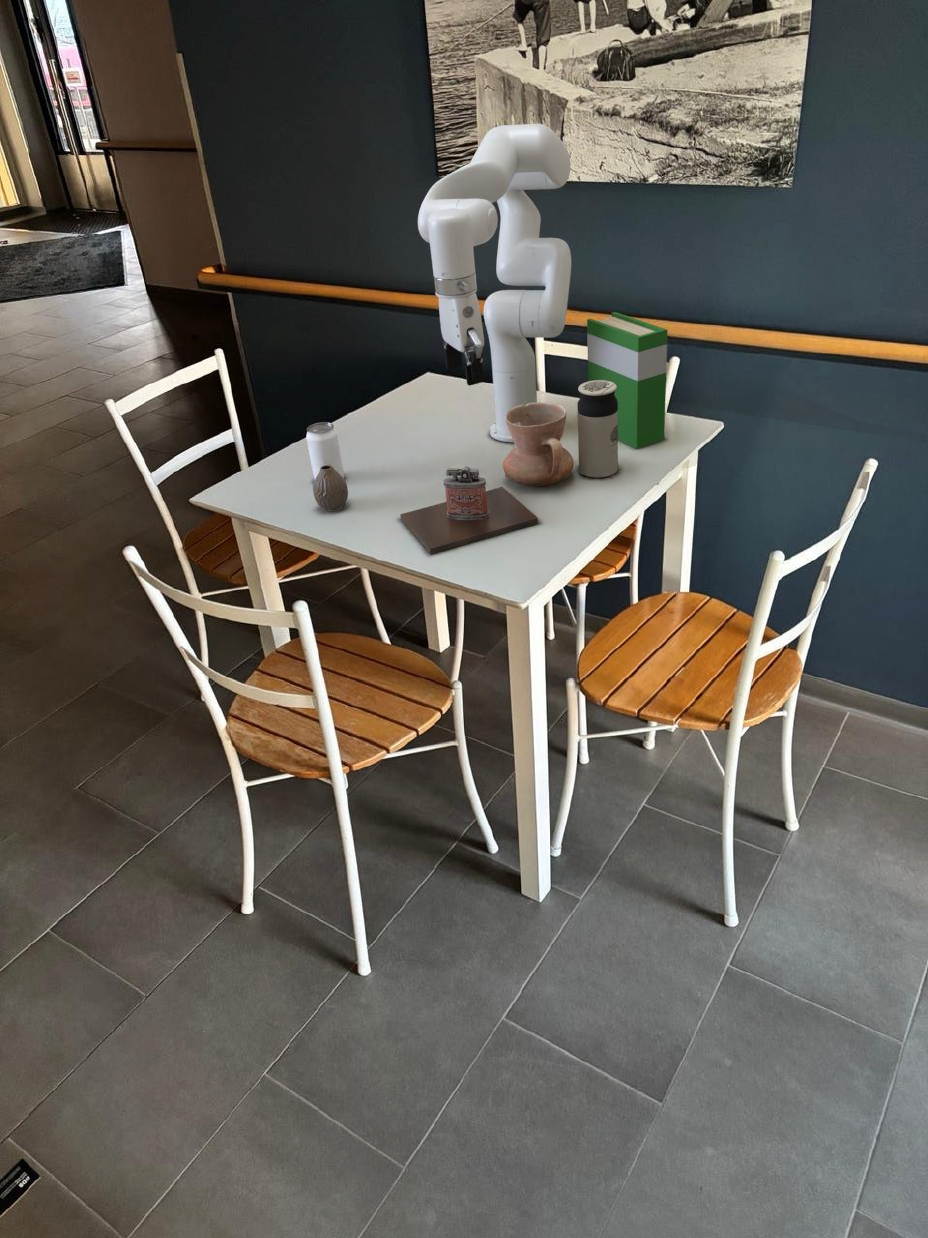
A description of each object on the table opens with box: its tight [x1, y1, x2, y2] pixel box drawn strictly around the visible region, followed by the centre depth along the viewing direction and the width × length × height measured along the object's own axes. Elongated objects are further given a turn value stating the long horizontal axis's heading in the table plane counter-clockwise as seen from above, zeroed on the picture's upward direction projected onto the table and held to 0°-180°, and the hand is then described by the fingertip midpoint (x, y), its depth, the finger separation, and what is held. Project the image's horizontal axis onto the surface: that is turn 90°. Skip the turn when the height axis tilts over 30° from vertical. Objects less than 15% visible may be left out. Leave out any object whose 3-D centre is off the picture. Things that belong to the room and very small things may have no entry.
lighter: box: [443, 465, 489, 520], centre depth 178 cm, size 8×3×10 cm, turn 79°
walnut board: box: [399, 486, 539, 555], centre depth 181 cm, size 22×16×1 cm
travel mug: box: [576, 380, 619, 479], centre depth 190 cm, size 8×8×18 cm
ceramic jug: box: [502, 401, 575, 487], centre depth 190 cm, size 18×14×14 cm
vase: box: [312, 465, 349, 512], centre depth 189 cm, size 7×7×9 cm
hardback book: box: [586, 311, 669, 450], centre depth 203 cm, size 18×7×24 cm, turn 29°
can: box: [305, 421, 345, 481], centre depth 199 cm, size 6×6×12 cm
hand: (464, 375), depth 179 cm, fingers open, 9 cm apart
